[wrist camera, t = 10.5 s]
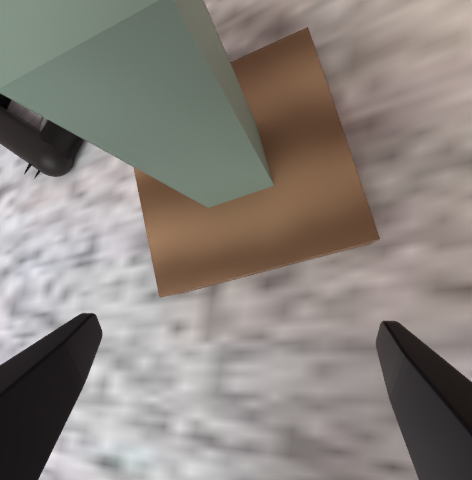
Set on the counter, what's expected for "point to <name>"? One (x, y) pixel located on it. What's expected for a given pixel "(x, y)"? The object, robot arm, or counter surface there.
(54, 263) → the counter surface
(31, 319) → the counter surface
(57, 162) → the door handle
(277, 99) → the walnut base
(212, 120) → the green post
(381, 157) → the counter surface
